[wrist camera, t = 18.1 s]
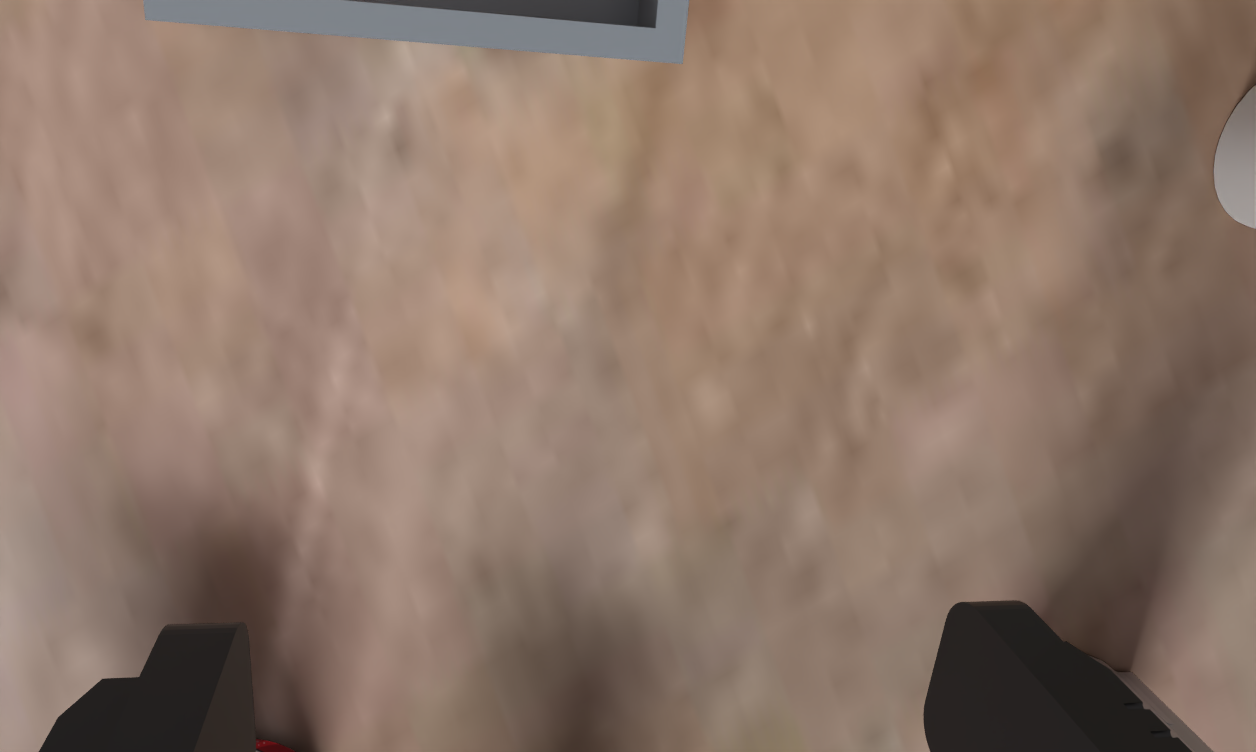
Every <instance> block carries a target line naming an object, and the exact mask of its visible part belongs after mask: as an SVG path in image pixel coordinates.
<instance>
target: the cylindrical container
mask: <svg viewBox="0 0 1256 752" xmlns="http://www.w3.org/2000/svg"><path fill="white" fill-rule="evenodd" d="M1214 183H1215V189H1216V192H1217V195H1218V199H1219V201H1220V203H1221V204H1222V206H1223V208H1224V209H1225V211H1226V212H1227V213H1228V214H1229V215H1230V216H1231V217H1232V218H1233V219H1234V220H1235V221H1237V222H1239V223H1241V224H1244V225H1246V226H1248V227H1252V228H1255V229H1256V85H1255V86H1254V87H1253V88H1252V89H1251V90H1250V91H1248V93H1247V94H1246V95H1245V96H1244V98H1243V99H1242V100H1241V101H1240V102H1239V104H1238V105H1237V106H1236V108H1235V109H1234V111H1233V113H1232V114H1231V116H1230V118H1229V119H1228V121H1227V123H1226V125H1225V127H1224V130H1223V132H1222V134H1221V137H1220V139H1219V143H1218V146H1217V150H1216V154H1215V162H1214Z"/></svg>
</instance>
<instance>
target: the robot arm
mask: <svg viewBox="0 0 1256 752" xmlns="http://www.w3.org/2000/svg"><path fill="white" fill-rule="evenodd" d="M924 729H925V735H926V739H927V743H928V746H929V749H930V751H931V752H1213V751H1212V750H1211V749H1210V748H1209V747H1208V746H1207V745H1206V744H1205V743H1204V742H1203V741H1202V740H1201V739H1200V738H1199V737H1198V736H1197V735H1196V734H1195V733H1194V732H1193V731H1192V730H1191V729H1190V728H1189V727H1188V726H1187V725H1186V724H1185V723H1184V722H1183V721H1182V720H1181V719H1180V718H1179V717H1178V716H1177V715H1175V714H1174V713H1173V712H1172V711H1171V710H1170V709H1169V708H1168V707H1167V706H1166V705H1165V704H1164V703H1163V702H1162V701H1161V700H1160V699H1159V698H1158V697H1157V696H1156V695H1155V694H1154V693H1153V692H1152V691H1151V690H1150V689H1149V688H1148V687H1147V686H1146V685H1145V684H1144V683H1143V682H1142V681H1141V680H1140V679H1139V678H1138V677H1137V676H1136V675H1134V674H1133V673H1132V672H1116V671H1115V670H1113V669H1112V668H1111V667H1110V666H1108V665H1107V664H1106V663H1105V662H1104V661H1102V660H1099V659H1097V658H1095V657H1092V656H1088V655H1087V654H1085V653H1084V652H1082V651H1081V650H1079V649H1077V648H1076V647H1074V646H1073V645H1071V644H1070V643H1068V642H1063V641H1062V640H1061V639H1060V638H1059V637H1058V636H1057V635H1056V634H1055V633H1054V632H1053V631H1052V629H1051V628H1050V627H1049V626H1048V625H1047V624H1046V623H1045V622H1044V621H1043V620H1042V619H1041V618H1040V617H1039V616H1038V615H1037V614H1036V613H1035V612H1034V611H1033V610H1032V609H1031V608H1030V607H1029V606H1028V605H1027V604H1025V603H1023V602H1021V601H982V602H960V603H957V604H955V605H954V606H953V607H952V608H951V609H950V611H949V613H948V615H947V618H946V622H945V626H944V630H943V634H942V637H941V641H940V645H939V649H938V653H937V657H936V661H935V665H934V669H933V673H932V677H931V681H930V685H929V689H928V692H927V696H926V700H925V705H924ZM39 752H256V733H255V719H254V704H253V690H252V676H251V661H250V647H249V636H248V630H247V627H246V625H245V623H244V622H236V623H203V624H170V625H166V626H165V627H164V628H163V629H162V631H161V633H160V634H159V636H158V638H157V641H156V643H155V645H154V647H153V649H152V651H151V653H150V655H149V658H148V660H147V662H146V664H145V666H144V668H143V670H142V672H141V674H140V677H135V678H110V679H102V680H101V681H99V682H98V683H97V684H96V685H95V686H94V687H93V688H91V689H90V690H89V691H88V692H87V693H86V694H85V695H83V696H82V697H81V698H80V699H79V700H78V701H76V702H75V703H74V704H73V705H72V706H71V707H70V708H68V709H67V710H66V711H65V712H64V713H63V714H62V715H60V716H59V717H58V719H57V720H56V722H55V724H54V726H53V727H52V729H51V731H50V733H49V735H48V736H47V738H46V740H45V742H44V744H43V745H42V747H41V749H40V751H39Z"/></svg>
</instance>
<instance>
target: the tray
mask: <svg viewBox="0 0 1256 752" xmlns="http://www.w3.org/2000/svg"><path fill="white" fill-rule="evenodd" d="M143 1H144V11H145V20H153V21H165V22H178V23H190V24H202V25H214V26H226V27H239V28H251V29H263V30H275V31H287V32H300V33H312V34H324V35H336V36H348V37H360V38H373V39H385V40H397V41H409V42H421V43H434V44H446V45H458V46H470V47H482V48H495V49H507V50H519V51H531V52H543V53H555V54H568V55H580V56H592V57H604V58H616V59H629V60H641V61H653V62H665V63H677V64H683V55H684V45H685V35H686V26H687V16H688V6H689V0H143Z"/></svg>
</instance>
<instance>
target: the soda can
mask: <svg viewBox="0 0 1256 752" xmlns="http://www.w3.org/2000/svg"><path fill="white" fill-rule="evenodd" d="M256 752H295V751H293V750H292V749H290V748H288V747H285V746H283V745H281V744H278V743H274V742H271V741H267V740H261V739H256Z"/></svg>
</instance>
